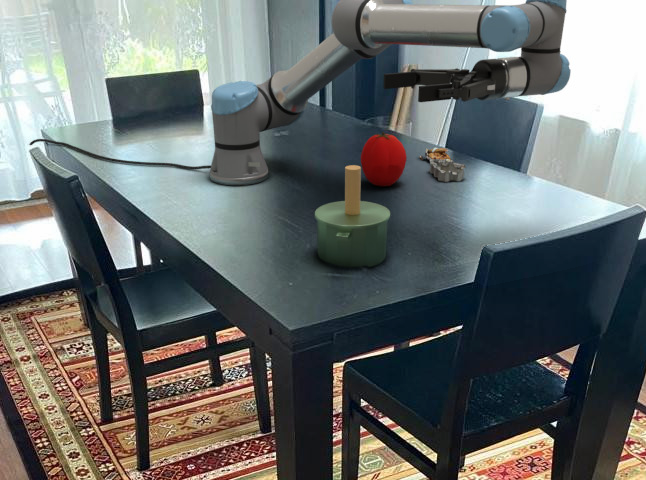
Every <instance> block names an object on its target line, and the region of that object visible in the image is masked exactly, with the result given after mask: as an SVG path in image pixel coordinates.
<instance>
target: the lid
mask: <svg viewBox="0 0 646 480" xmlns="http://www.w3.org/2000/svg"><path fill="white" fill-rule="evenodd" d="M361 181H362V166H360V165H357V164H352V165H346V166H345V167H344V200H340V201H333V202H329V203H326V204H323V205H320V206H319V207H317V208H316V210H314V218H315V220H316V221H317V220H318V221H319V222H321V223H323V224H325V225H328V226H332V227H337V228H346V229H360V228H369V227H374V226H378V225H381V224H383V223H385V222H387V223H388V221H389V220H390V218H391V211H390V210H389V208H387V207H386V206H384V205H382V204H379V203H375V202H371V201H365V200H361V192H362V191H361V189H362V188H361V185H362V183H361Z"/></svg>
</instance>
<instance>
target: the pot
mask: <svg viewBox="0 0 646 480" xmlns="http://www.w3.org/2000/svg"><path fill="white" fill-rule="evenodd" d="M316 225H317V227H316V231H317V234H316V235H317V237H316V239H317V240H316V241H317V255H318V258H319V259H321V260H322V261H324V262H325V263H328V264H331V265H334V266H338V267H349V268H353V267H355V268H356V267H367V269H369V268H372V267H376V266H377V265H380V264H382V263H383V262H384V261H385V260H386V257H387V244H388V243H387V242H388V221H387V222H385V223H383V224H381V225H378V226H374V227H369V228H360V229H346V228H337V227H332V226H328V225H325V224H323V223H321V222H319V221H318V220H317V219H316Z"/></svg>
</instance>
